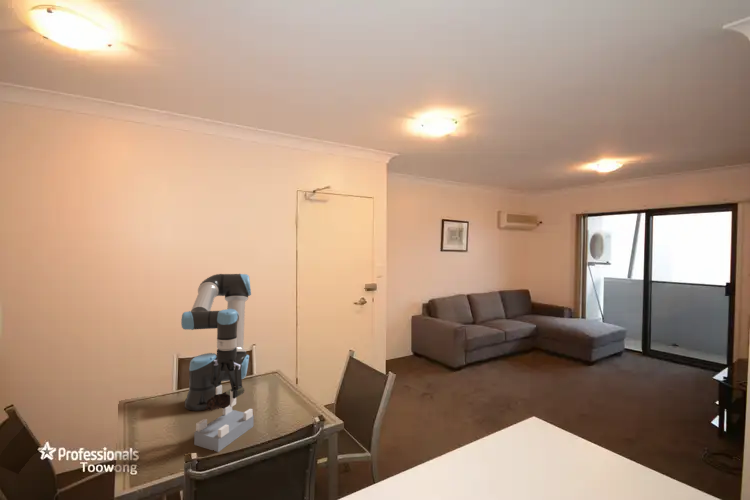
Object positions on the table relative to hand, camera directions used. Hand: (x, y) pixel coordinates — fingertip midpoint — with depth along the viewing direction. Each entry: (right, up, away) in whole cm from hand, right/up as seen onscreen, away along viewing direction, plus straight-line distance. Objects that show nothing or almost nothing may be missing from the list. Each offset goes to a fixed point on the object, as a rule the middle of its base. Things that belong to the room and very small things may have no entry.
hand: (225, 403), depth 145 cm
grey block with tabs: (0, -13, +1) cm, 13 cm away
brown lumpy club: (0, -1, 0) cm, 1 cm away
